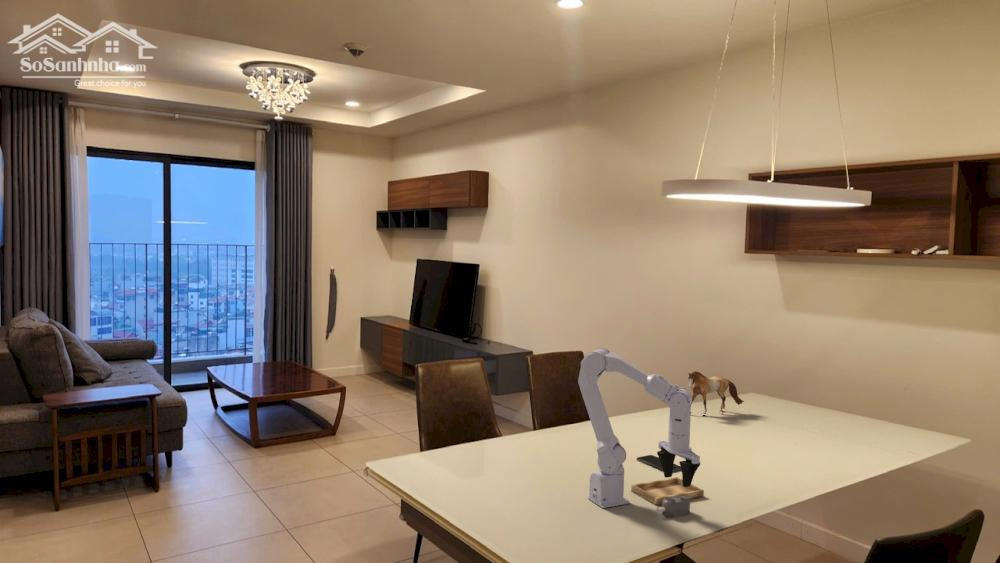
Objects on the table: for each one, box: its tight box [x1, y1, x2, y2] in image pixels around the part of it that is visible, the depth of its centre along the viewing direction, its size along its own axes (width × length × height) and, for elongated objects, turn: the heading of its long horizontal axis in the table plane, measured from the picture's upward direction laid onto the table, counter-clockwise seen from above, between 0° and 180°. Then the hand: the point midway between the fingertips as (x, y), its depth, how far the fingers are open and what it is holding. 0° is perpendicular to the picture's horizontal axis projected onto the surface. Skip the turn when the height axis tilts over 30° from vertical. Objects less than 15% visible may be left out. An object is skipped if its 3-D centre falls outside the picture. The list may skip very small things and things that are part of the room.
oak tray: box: [631, 477, 705, 507], centre depth 187 cm, size 18×12×2 cm, turn 115°
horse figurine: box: [687, 370, 745, 415], centre depth 284 cm, size 31×8×21 cm, turn 112°
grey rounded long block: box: [655, 496, 691, 519], centre depth 173 cm, size 11×4×4 cm, turn 115°
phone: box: [636, 454, 682, 473], centre depth 213 cm, size 8×1×15 cm
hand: (677, 481), depth 173 cm, fingers open, 7 cm apart
